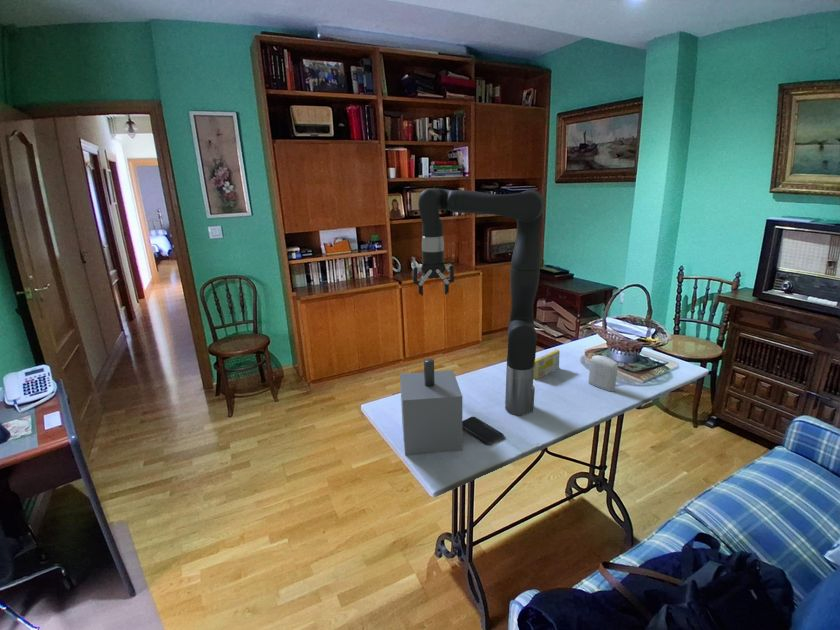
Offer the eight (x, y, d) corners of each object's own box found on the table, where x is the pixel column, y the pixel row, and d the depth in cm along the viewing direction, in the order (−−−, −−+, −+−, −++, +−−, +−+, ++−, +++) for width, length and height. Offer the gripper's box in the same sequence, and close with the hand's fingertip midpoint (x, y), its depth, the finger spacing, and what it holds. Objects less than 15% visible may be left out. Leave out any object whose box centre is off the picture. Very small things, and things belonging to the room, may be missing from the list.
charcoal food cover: (453, 419, 150) (452, 348, 142) (462, 450, 134) (462, 371, 125) (402, 423, 149) (398, 351, 141) (405, 455, 132) (401, 375, 124)
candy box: (555, 367, 188) (556, 349, 185) (559, 368, 186) (560, 350, 183) (531, 378, 178) (532, 360, 176) (535, 380, 177) (536, 361, 174)
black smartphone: (488, 444, 135) (456, 423, 147) (488, 447, 136) (456, 426, 147) (505, 435, 140) (473, 415, 151) (505, 438, 140) (473, 418, 151)
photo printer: (617, 389, 168) (620, 359, 164) (611, 392, 165) (614, 363, 161) (592, 380, 175) (595, 351, 171) (586, 383, 173) (589, 354, 169)
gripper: (413, 252, 145) (414, 298, 150) (455, 250, 146) (455, 296, 151) (411, 248, 152) (413, 292, 157) (451, 246, 153) (452, 290, 159)
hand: (433, 294), depth 154 cm, fingers open, 8 cm apart
